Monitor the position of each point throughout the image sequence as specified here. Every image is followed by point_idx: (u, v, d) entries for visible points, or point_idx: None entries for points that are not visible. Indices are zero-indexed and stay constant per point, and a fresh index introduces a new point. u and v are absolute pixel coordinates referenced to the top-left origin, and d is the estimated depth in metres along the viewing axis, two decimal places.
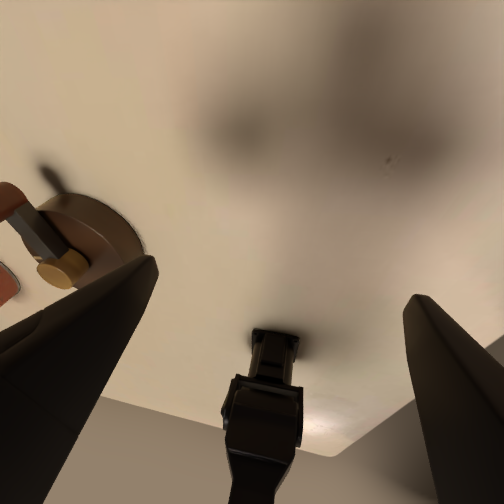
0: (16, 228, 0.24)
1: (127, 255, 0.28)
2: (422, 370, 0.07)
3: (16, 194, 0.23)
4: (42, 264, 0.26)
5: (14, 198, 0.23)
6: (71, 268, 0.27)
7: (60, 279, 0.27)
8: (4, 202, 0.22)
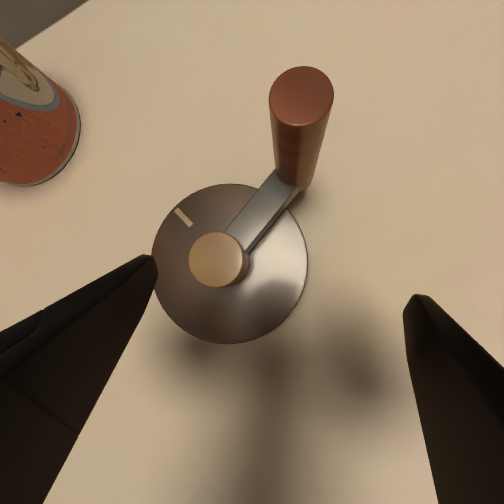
0: (263, 190, 0.18)
1: None
2: (422, 370, 0.07)
3: (310, 180, 0.18)
4: (232, 238, 0.17)
5: (309, 181, 0.18)
6: (241, 273, 0.17)
7: (217, 268, 0.17)
8: (311, 175, 0.17)
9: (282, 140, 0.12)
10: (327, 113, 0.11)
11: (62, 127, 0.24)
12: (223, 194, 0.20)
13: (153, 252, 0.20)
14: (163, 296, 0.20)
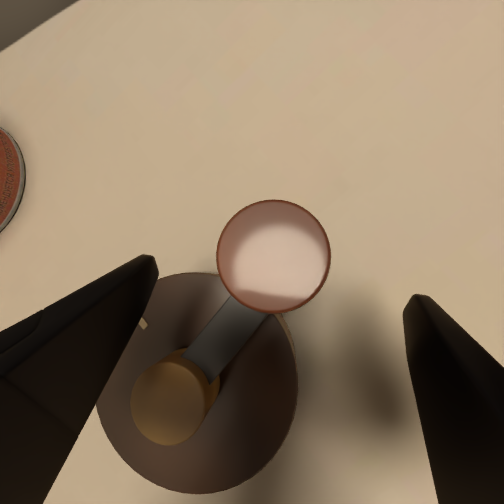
0: (236, 299, 0.13)
1: None
2: (422, 370, 0.07)
3: None
4: (190, 373, 0.12)
5: None
6: None
7: (169, 418, 0.12)
8: None
9: None
10: (319, 289, 0.06)
11: None
12: (188, 287, 0.15)
13: None
14: (108, 421, 0.15)
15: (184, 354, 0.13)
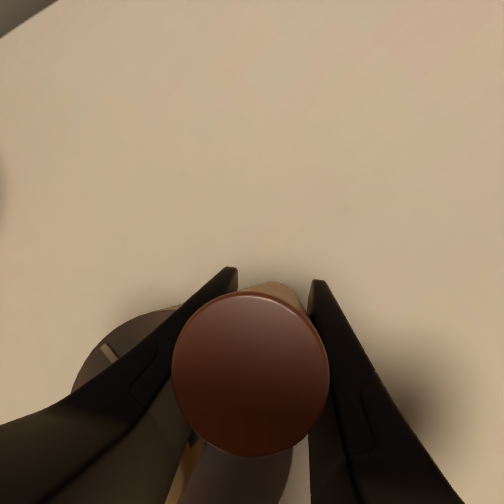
0: None
1: None
2: None
3: None
4: None
5: None
6: (185, 487, 0.11)
7: None
8: None
9: None
10: (313, 423, 0.04)
11: None
12: None
13: None
14: None
15: None
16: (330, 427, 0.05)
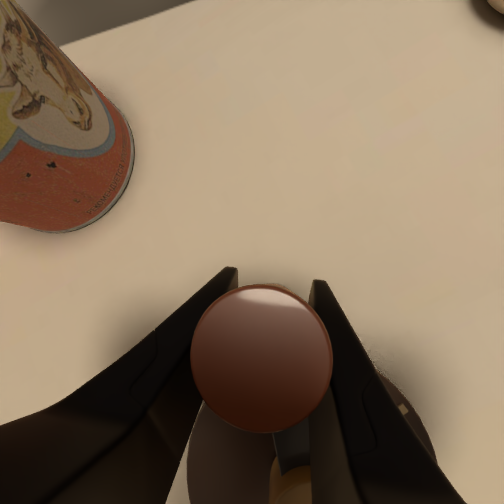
0: None
1: None
2: None
3: None
4: (305, 483, 0.10)
5: None
6: None
7: None
8: None
9: None
10: (328, 338, 0.05)
11: (108, 176, 0.17)
12: None
13: (199, 422, 0.13)
14: (198, 497, 0.13)
15: (281, 470, 0.11)
16: (331, 428, 0.05)
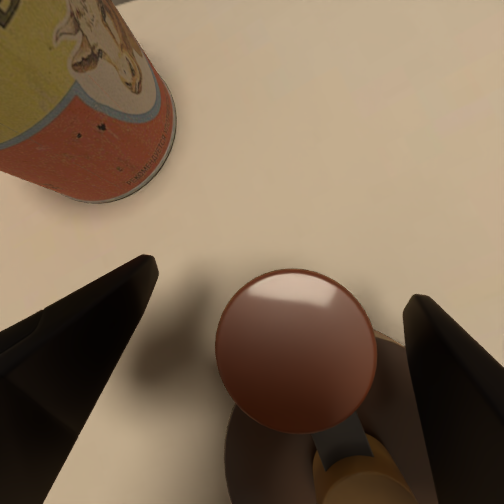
0: None
1: None
2: (422, 370, 0.07)
3: None
4: (352, 476, 0.09)
5: None
6: None
7: None
8: None
9: None
10: (366, 316, 0.04)
11: (151, 145, 0.17)
12: (378, 356, 0.12)
13: None
14: (235, 478, 0.13)
15: (325, 465, 0.10)
16: None
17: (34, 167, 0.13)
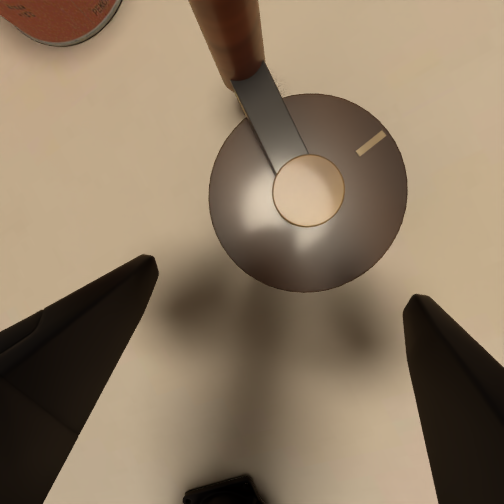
0: (250, 105, 0.14)
1: None
2: (422, 370, 0.07)
3: None
4: (292, 160, 0.13)
5: None
6: None
7: (320, 193, 0.13)
8: None
9: None
10: None
11: None
12: (319, 108, 0.16)
13: (215, 166, 0.17)
14: (219, 222, 0.17)
15: (276, 171, 0.14)
16: None
17: None
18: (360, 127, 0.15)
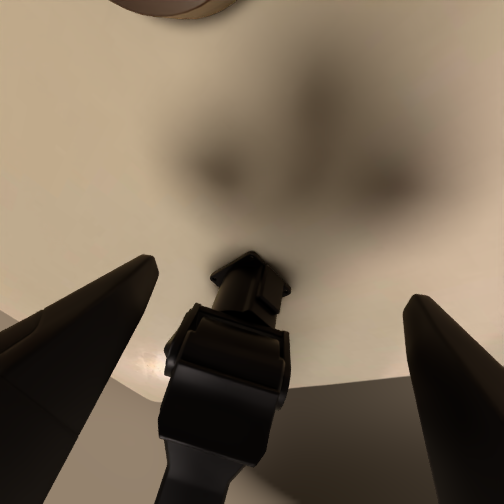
0: None
1: None
2: (422, 370, 0.07)
3: None
4: None
5: None
6: None
7: None
8: None
9: None
10: None
11: None
12: None
13: None
14: None
15: None
16: None
17: None
18: None
